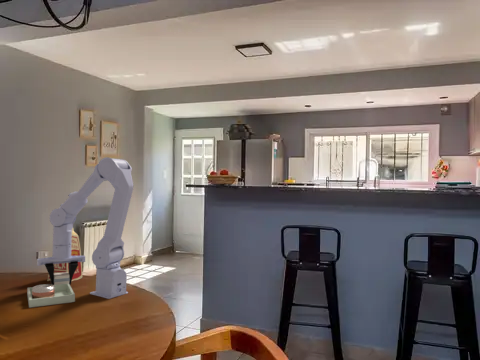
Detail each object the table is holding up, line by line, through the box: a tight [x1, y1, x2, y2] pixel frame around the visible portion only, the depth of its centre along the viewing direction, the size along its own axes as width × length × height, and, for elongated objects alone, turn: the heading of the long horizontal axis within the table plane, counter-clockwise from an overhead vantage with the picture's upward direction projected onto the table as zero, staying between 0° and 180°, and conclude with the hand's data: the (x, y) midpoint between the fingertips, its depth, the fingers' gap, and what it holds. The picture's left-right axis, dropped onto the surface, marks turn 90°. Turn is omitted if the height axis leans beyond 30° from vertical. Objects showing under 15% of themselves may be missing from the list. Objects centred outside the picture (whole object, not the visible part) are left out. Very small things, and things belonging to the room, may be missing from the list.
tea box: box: [54, 272, 70, 285], centre depth 129 cm, size 5×5×5 cm
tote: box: [26, 284, 76, 308], centre depth 118 cm, size 14×12×2 cm
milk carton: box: [46, 227, 83, 282], centre depth 142 cm, size 9×9×20 cm
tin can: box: [32, 283, 55, 299], centre depth 115 cm, size 6×6×4 cm
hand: (61, 284), depth 129 cm, fingers closed on tea box, 4 cm apart
